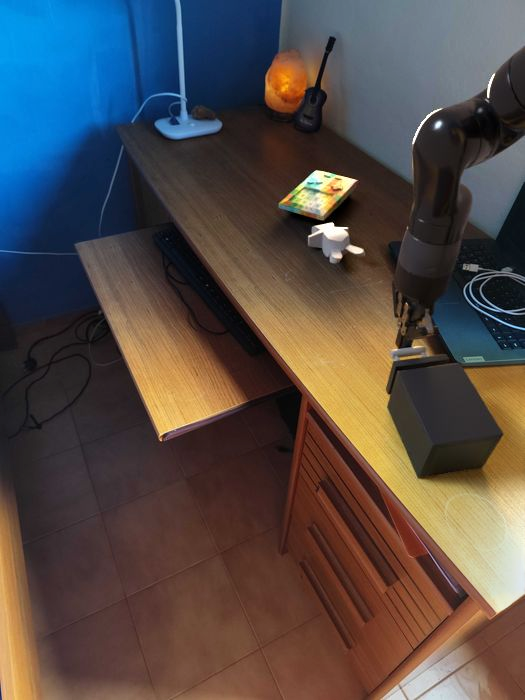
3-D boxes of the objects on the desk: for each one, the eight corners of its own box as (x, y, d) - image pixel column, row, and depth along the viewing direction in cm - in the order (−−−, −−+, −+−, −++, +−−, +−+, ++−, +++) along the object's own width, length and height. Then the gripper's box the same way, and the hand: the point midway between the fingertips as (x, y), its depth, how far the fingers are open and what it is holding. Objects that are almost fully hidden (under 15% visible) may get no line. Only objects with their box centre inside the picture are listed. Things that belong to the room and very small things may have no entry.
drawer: (376, 369, 78) (383, 341, 73) (424, 363, 78) (434, 334, 73) (412, 450, 67) (423, 423, 62) (467, 441, 68) (482, 414, 63)
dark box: (386, 406, 73) (396, 371, 67) (444, 398, 74) (459, 362, 68) (417, 478, 65) (432, 445, 59) (482, 468, 66) (504, 434, 59)
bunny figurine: (338, 214, 106) (371, 241, 95) (337, 235, 109) (369, 264, 98) (300, 222, 104) (329, 251, 93) (300, 243, 107) (328, 273, 96)
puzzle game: (358, 176, 117) (322, 212, 105) (356, 194, 120) (321, 230, 109) (317, 166, 121) (278, 200, 110) (316, 183, 125) (278, 217, 113)
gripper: (475, 285, 60) (441, 373, 72) (433, 230, 69) (409, 317, 81) (419, 292, 59) (394, 379, 72) (384, 235, 68) (367, 322, 81)
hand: (402, 346), depth 76 cm, fingers closed
